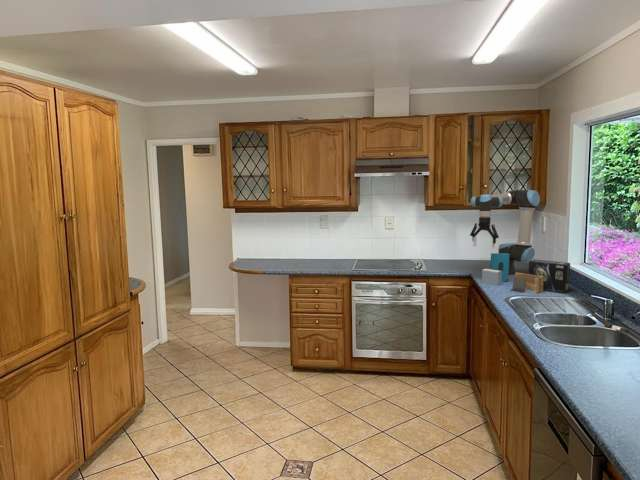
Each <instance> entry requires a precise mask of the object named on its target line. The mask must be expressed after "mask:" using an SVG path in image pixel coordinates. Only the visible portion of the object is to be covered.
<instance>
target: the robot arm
mask: <svg viewBox="0 0 640 480" xmlns="http://www.w3.org/2000/svg"><path fill="white" fill-rule="evenodd" d="M540 202H541V197H540V193H538V191H537V190H535V189H534V190H533V189H515V190H513V189H512V190H510V191H504V192H502V193H497V194H480V195H479V196H476V195H475V196H472V197H471V199H470V205H471V206H472V207H473V208H474V207H475V208H479V212H478V213H479V215H478V216H479V217H478V222H476V223H474V227H472V230H471V232H470V234H469V236H471V237H472V242H473V243H472V246H473V247H477V235H478V234H479V233H480V232H481V231H487V232H488V233H489V235H490V237H491V247H490V248H491V249H494V248H495V244H496V242H497V239H499V233H498V231H497V230H496V224H491V219H492V218H491V216H492V213H491V212H492V209H495V208H496V209H498V208H501V207H502V206H503V205H512V206H513V205H514V206H518V208H519V210H520V213H519V221H518V223H519V224H518V233H517V242H510V243H509V242H508V243H500V244H499V245H498V253H507V254H510V258H509V274H508V275H515V273H516V272H517V270H516V269H517V268H516V266H515V262H521V263H529V261H531V260H534V257H535V251H536V250H535V249H534V248H533V244H532V243H531V234H532V226H533V218H534V217H533V216H534V210H536V207H538V206H540V205H539V204H540ZM498 270H499V271H501V262H500V263H499V268H498Z"/></svg>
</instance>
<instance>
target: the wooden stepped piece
mask: <svg viewBox="0 0 640 480" xmlns="http://www.w3.org/2000/svg"><path fill="white" fill-rule="evenodd" d="M514 278H518V279H524V280H526V288H525V290H528V291H529V290H530V291H533V294H534V295H537V294H539V293H540V294H541V293H543V292H544V291H543V284H544V277H543V276H537V275H530V274H528V273H523V272H517V271H516V273H515V274H514Z"/></svg>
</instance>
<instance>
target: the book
mask: <svg viewBox="0 0 640 480" xmlns="http://www.w3.org/2000/svg"><path fill="white" fill-rule="evenodd" d="M481 272H482V273H481V284H483V285H484V284H485V285H489V286H495V287H499V286H502V283H503V282H502V271H499V270H492V269H490V268H484V269H483V268H482V271H481Z"/></svg>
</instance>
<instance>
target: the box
mask: <svg viewBox="0 0 640 480" xmlns="http://www.w3.org/2000/svg"><path fill="white" fill-rule="evenodd" d="M570 270H571V262H564V261H563V262H562V261H556V260H555V261H553V260H545V259H544V260H543V259H532V260H531V261H529V262H528V273H527V274H530V275H537V276H543V277H544V284H543V292H552V293H558V294H559V293H560V294H566V293H569V291H570V275H571V274H570V273H571V271H570Z"/></svg>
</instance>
